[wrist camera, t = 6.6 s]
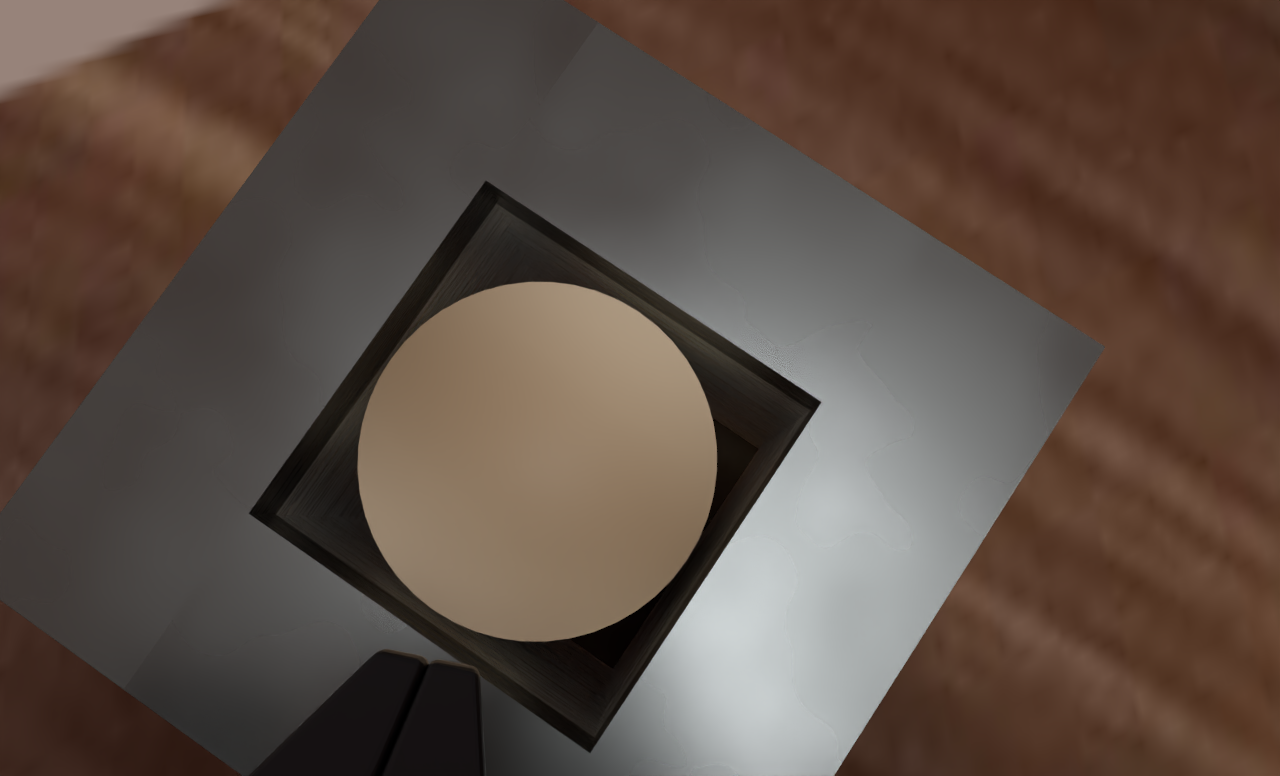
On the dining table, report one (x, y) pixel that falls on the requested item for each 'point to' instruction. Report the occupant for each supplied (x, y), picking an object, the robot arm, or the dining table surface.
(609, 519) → the peg
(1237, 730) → the dining table surface
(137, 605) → the collar
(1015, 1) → the dining table surface
